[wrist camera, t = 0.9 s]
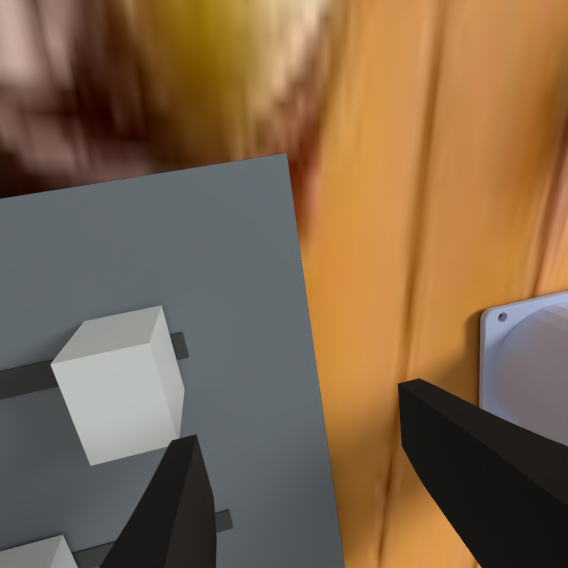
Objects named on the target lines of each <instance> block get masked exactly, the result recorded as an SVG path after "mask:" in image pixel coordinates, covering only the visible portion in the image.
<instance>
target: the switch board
mask: <svg viewBox="0 0 568 568" xmlns="http://www.w3.org/2000/svg"><path fill="white" fill-rule="evenodd" d="M161 305H162V309H163V313H164V316H165V320H166V323H167V327H168V331H169V334H170V338H171V342H172V345H173V349H174V353H175V356H176V360H177V364H178V367H179V371H180V375H181V378H182V382H183V386H184V399H183V408H182V418H181V428H180V437H179V438H183V437H187V436H191V435H195V434H197V437H198V441H199V444H200V448H201V452H202V455H203V459H204V463H205V466H206V470H207V474H208V477H209V481H210V485H211V488H212V492H213V496H214V506H215V519H216V535H217V553H216V568H345V564H344V557H343V550H342V543H341V536H340V529H339V522H338V515H337V508H336V501H335V493H334V486H333V479H332V472H331V465H330V458H329V451H328V444H327V437H326V430H325V423H324V416H323V409H322V401H321V394H320V387H319V380H318V373H317V366H316V359H315V352H314V345H313V338H312V331H311V324H310V317H309V309H308V302H307V295H306V288H305V281H304V274H303V267H302V260H301V253H300V246H299V239H298V232H297V225H296V217H295V210H294V203H293V196H292V189H291V182H290V175H289V168H288V161H287V154H286V153H285V154H278V155H272V156H266V157H259V158H253V159H247V160H241V161H234V162H228V163H222V164H216V165H209V166H203V167H197V168H191V169H184V170H178V171H172V172H166V173H159V174H153V175H147V176H141V177H134V178H128V179H122V180H116V181H109V182H103V183H97V184H91V185H85V186H78V187H72V188H66V189H60V190H53V191H47V192H41V193H35V194H28V195H22V196H16V197H10V198H3V199H0V552H1V551H4V550H8V549H12V548H15V547H19V546H23V545H26V544H30V543H34V542H37V541H41V540H45V539H49V538H52V537H56V536H60V535H63V536H64V538H65V541H66V543H67V545H68V547H69V549H70V552H71V554H72V556H73V558H74V560H75V562H76V565H77V567H78V568H99V566H100V565H101V563H102V562H103V560H104V559H105V557H106V555H107V554H108V552H109V551H110V549H111V547H112V546H113V544H114V543H115V541H116V539H117V538H118V536H119V535H120V533H121V531H122V530H123V528H124V527H125V525H126V523H127V522H128V520H129V518H130V517H131V515H132V513H133V511H134V509H135V508H136V506H137V504H138V502H139V501H140V499H141V497H142V495H143V493H144V492H145V490H146V488H147V486H148V484H149V482H150V481H151V479H152V477H153V475H154V473H155V471H156V469H157V467H158V465H159V463H160V461H161V459H162V457H163V455H164V453H165V451H166V449H167V447H164V448H160V449H156V450H152V451H148V452H144V453H140V454H136V455H132V456H128V457H124V458H120V459H116V460H112V461H108V462H104V463H100V464H96V465H92V466H90V463H89V461H88V458H87V456H86V453H85V451H84V448H83V446H82V443H81V440H80V438H79V435H78V433H77V430H76V428H75V425H74V423H73V420H72V418H71V415H70V413H69V410H68V408H67V405H66V402H65V400H64V397H63V395H62V392H61V390H60V387H59V385H58V382H57V380H56V377H55V375H54V372H53V370H52V367H51V363H52V362H53V360H54V359H55V358H56V357H57V355H58V354H59V353H60V351H61V350H62V349H63V348H64V346H65V345H66V344H67V343H68V341H69V340H70V339H71V338H72V336H73V335H74V334H75V332H76V331H77V330H78V329H79V327H80V326H81V325H82V324H83V322H84V321H87V320H92V319H97V318H102V317H107V316H112V315H117V314H122V313H126V312H131V311H136V310H141V309H146V308H151V307H156V306H161Z"/></svg>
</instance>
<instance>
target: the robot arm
mask: <svg viewBox="0 0 568 568" xmlns="http://www.w3.org/2000/svg"><path fill="white" fill-rule="evenodd" d="M501 313H502V315H501V317H500V318H499V319H498V317H499V315H500V314H501ZM398 393H399V408H400V424H401V439H402V447H403V449H404V451H405V452H406V454H407V456H408V458H409V460H410V462H411V464H412V466H413V468H414V469H415V471H416V473H417V475H418V477H419V478H420V480H421V482H422V483H423V485H424V486H425V488H426V489H427V491H428V492H429V494H430V495H431V496H432V498H433V499H434V501H435V502H436V504H437V505H438V506H439V508H440V509H441V511H442V512H443V514H444V515H445V516H446V518H447V519H448V521H449V522H450V524H451V525H452V526H453V528H454V529H455V531H456V532H457V533H458V535H459V536H460V538H461V539H462V541H463V542H464V543H465V545H466V546H467V548H468V549H469V550H470V552H471V553H472V555H473V556H474V558H475V559H476V560H477V562H478V563H479V565H480V566H481V568H568V290H566V291H562V292H557V293H553V294H549V295H544V296H540V297H536V298H531V299H527V300H523V301H518V302H514V303H510V304H505V305H501V306H497V307H492V308H489V309H486V310H485V311H484V312H483V313H482V315H481V319H480V385H479V407H477V406H475V405H473V404H471V403H469V402H467V401H465V400H463V399H461V398H459V397H457V396H455V395H453V394H451V393H449V392H447V391H445V390H443V389H441V388H439V387H437V386H435V385H432V384H430V383H428V382H426V381H424V380H422V379H415V380H411V381H407V382H403V383H399V384H398ZM216 553H217V535H216V519H215V506H214V496H213V492H212V488H211V485H210V481H209V477H208V474H207V470H206V466H205V463H204V459H203V455H202V452H201V448H200V444H199V441H198V437H197V434H195V435H191V436H187V437H183V438H179V439H175V440H172V441H171V442H170V444H169V445H168V447H167V449H166V451H165V453H164V455H163V457H162V459H161V461H160V463H159V465H158V467H157V469H156V471H155V473H154V475H153V477H152V479H151V481H150V482H149V484H148V486H147V488H146V490H145V492H144V493H143V495H142V497H141V499H140V501H139V502H138V504H137V506H136V508H135V509H134V511H133V513H132V515H131V517H130V518H129V520H128V522H127V523H126V525H125V527H124V528H123V530H122V531H121V533H120V535H119V536H118V538H117V539H116V541H115V543H114V544H113V546H112V547H111V549H110V551H109V552H108V554H107V555H106V557H105V559H104V560H103V562H102V563H101V565H100V566H99V568H216Z"/></svg>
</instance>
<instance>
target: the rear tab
mask: <svg viewBox="0 0 568 568" xmlns="http://www.w3.org/2000/svg"><path fill="white" fill-rule="evenodd" d="M0 568H78V567H77V565H76V562H75V560H74V558H73V556H72V554H71V552H70V549H69V547H68V545H67V543H66V541H65V538H64V536H63V535H60V536H56V537H52V538H49V539H45V540H41V541H37V542H34V543H30V544H26V545H23V546H19V547H15V548H12V549H8V550H4V551H1V552H0Z"/></svg>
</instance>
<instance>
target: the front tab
mask: <svg viewBox="0 0 568 568" xmlns="http://www.w3.org/2000/svg"><path fill="white" fill-rule="evenodd" d="M51 367H52V370H53V372H54V375H55V377H56V380H57V382H58V385H59V387H60V390H61V392H62V395H63V397H64V400H65V402H66V405H67V408H68V410H69V413H70V415H71V418H72V420H73V423H74V425H75V428H76V430H77V433H78V435H79V438H80V440H81V443H82V446H83V448H84V451H85V453H86V456H87V458H88V461H89V463H90V466H92V465H96V464H100V463H104V462H108V461H112V460H116V459H120V458H124V457H128V456H132V455H136V454H140V453H144V452H148V451H152V450H156V449H160V448H164V447H168V445H169V444H170V442H171V441H172V440H175V439H179V437H180V428H181V418H182V408H183V399H184V386H183V382H182V378H181V375H180V371H179V367H178V364H177V360H176V356H175V353H174V349H173V345H172V342H171V338H170V334H169V331H168V327H167V323H166V320H165V316H164V313H163V309H162V305H161V306H156V307H151V308H146V309H141V310H136V311H131V312H126V313H122V314H117V315H112V316H107V317H102V318H97V319H92V320H87V321H84V322H83V324H82V325H81V326H80V327H79V329H78V330H77V331H76V332H75V334H74V335H73V336H72V338H71V339H70V340H69V341H68V343H67V344H66V345H65V346H64V348H63V349H62V350H61V351H60V353H59V354H58V355H57V357H56V358H55V359H54V360H53V362H52V363H51Z"/></svg>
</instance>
